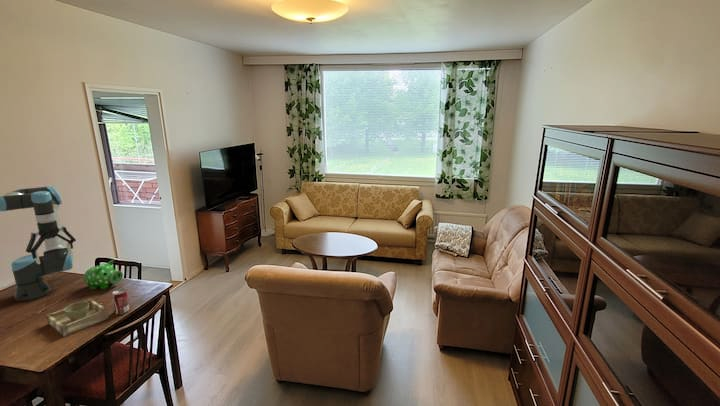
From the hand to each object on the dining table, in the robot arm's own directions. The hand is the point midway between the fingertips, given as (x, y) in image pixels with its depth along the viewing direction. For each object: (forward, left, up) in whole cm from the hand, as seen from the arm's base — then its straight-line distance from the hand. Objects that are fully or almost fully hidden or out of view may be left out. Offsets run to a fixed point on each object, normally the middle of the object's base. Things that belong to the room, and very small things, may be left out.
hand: (55, 259), depth 183 cm
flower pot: (+23, -2, -27) cm, 36 cm away
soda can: (+32, +14, -28) cm, 45 cm away
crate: (+23, -2, -28) cm, 37 cm away
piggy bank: (-8, +22, -28) cm, 37 cm away
